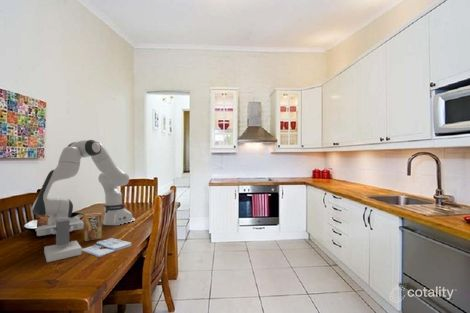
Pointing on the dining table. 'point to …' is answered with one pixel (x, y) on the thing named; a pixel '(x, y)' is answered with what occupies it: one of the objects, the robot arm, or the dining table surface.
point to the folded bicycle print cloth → (109, 243)
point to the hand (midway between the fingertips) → (63, 231)
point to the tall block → (62, 232)
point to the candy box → (93, 226)
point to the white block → (62, 251)
